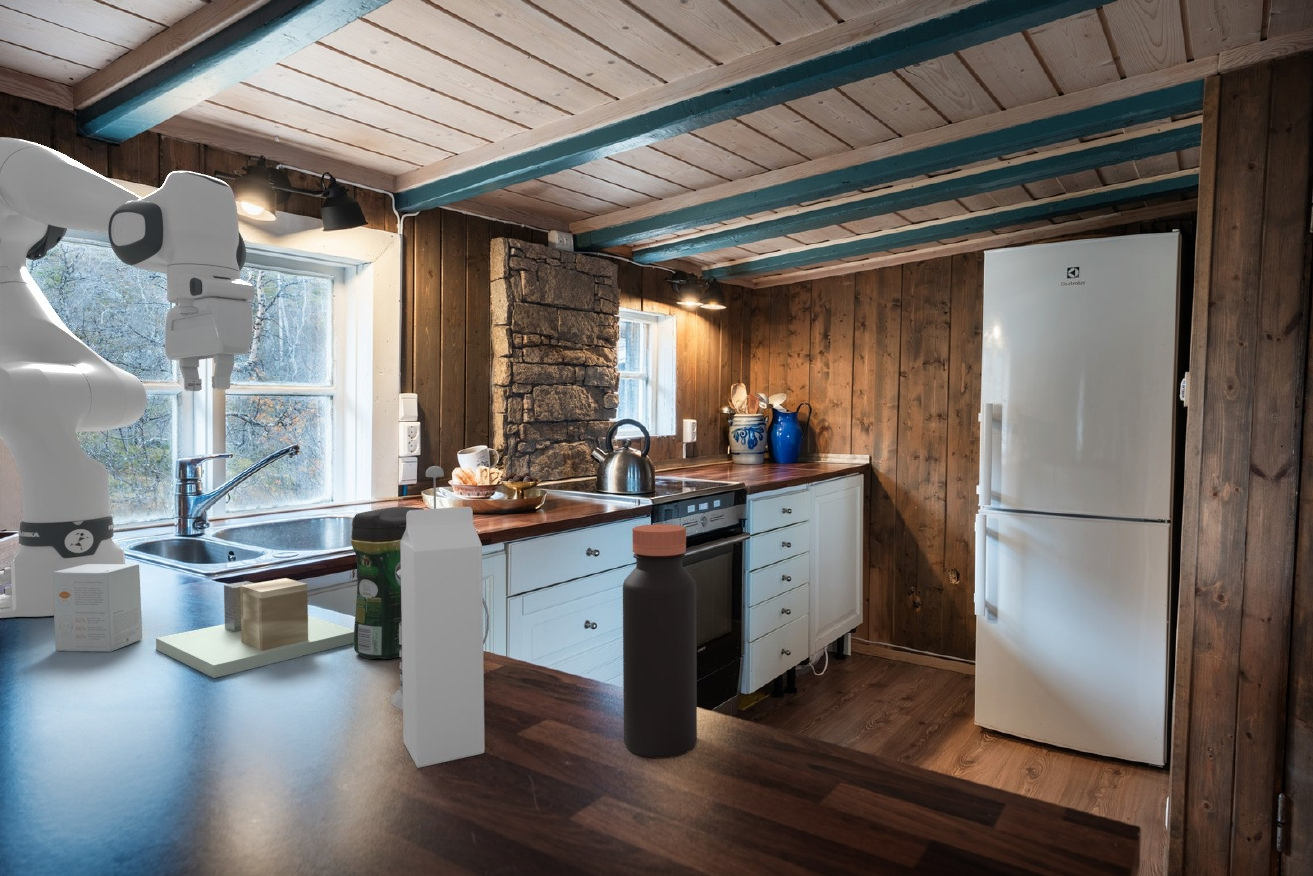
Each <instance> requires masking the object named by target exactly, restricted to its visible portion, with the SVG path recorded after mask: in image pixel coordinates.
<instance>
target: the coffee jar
mask: <svg viewBox="0 0 1313 876" xmlns="http://www.w3.org/2000/svg"><path fill="white" fill-rule="evenodd" d="M423 509H424V508H422V507H412V506H392V507H385V508H380V509H373V510H369V511H364V512H359V513H356V514H355V515H354V517H353V518H352V520H351V521H352V523H351V526H352V530H351V540H350V542H351V546H352V549H353V551H354V554H355V557H356V565H357V566H356V567H357V581H356V583H357V584H356V603H355V616H354V617H355V618H354V629H353V630H354V643H353V651H355V653H357V654H358V655H360V657H362V658H366V659H369V660H374V659H385V660H386V659H387V660H388V659H393V658H400V657H399V650H400V648H401V647H402V645H400V644H399V623H400V622H401V621H402V612H401V579H400V578H399V576H398V575H397V573H396V572H397V571H398V570H400V569H401V547H400V542H401V539H402V537H403V534H404V532H405V530H406V514H407V512H408V511H410V510H423Z"/></svg>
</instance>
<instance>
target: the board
mask: <svg viewBox="0 0 1313 876" xmlns="http://www.w3.org/2000/svg"><path fill="white" fill-rule="evenodd" d="M350 644H354V629H353V628H349V627H346V626H344V625H341V624H340V625H339V624H337V623H333V622H330V621H327V620H324V619H321V618H318V617H315V616H312V615H309V614H308V640H306V641H302V642H298V643H294V644H289V645H285V646H281V647H277V648H273V649H268V650H264V651H261V650H259V649H257V648H254V647H252V646H249V645H247V644H244V643H242V641H241V631H239V632H232V631H230V630H227V629H225V623H223V624H219V625H215V626H208V627H203V628H199V629H195V630H188V631H184V632H178V633H174V634H170V635H165V636H160V637H155V650H156V651H159V652H160V653H163V654H164V655H166V656H169V657H170V658H173V659H175V660H177V661H179V662H181V663H183V664H184V665H187V666H189V667H191V668H192V669H195V670H197V671H198V672H200V673H203V674H205V675H207V676H209V677H210V678H213V679H216V678H220V677H224V676H228V675H229V676H230V675H232V674H237V673H240V672H245V671H247V670H251V669H256V668H259V667H263V666H269V665H271V664H276V663H280V662H284V661H288V660H291V659H292V660H293V659H295V658H296V659H297V658H299V657H300V658H301V657H303V655H304V656H307V655H311V654H317V653H319V652H323V651H327V650H331V649H334V648H339V647H342V646H347V645H350Z"/></svg>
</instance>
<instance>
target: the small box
mask: <svg viewBox="0 0 1313 876" xmlns="http://www.w3.org/2000/svg"><path fill="white" fill-rule="evenodd" d="M140 575H141V574H140V564H137V563H133V564H132V563H131V564H130V563H127V564H126V563H125V564H85V565H81V566H76V567H72V568H68V569H63V570H59V571H55V572H53V573H52V576H53V601H54V615H53V618H54V619H53V620H54V637H55V638H54V639H55V640H54V642H55V650H56V651H57V652H98V653H100V652H101V653H102V652H108V653H109V652H114V651H116V650H119V649H121V648H123V647H126V646H129V645H131V644H134V643H136V642H138V641H141V640H143V623H142V622H143V619H142V618H143V617H142V597H141V578H140V577H141V576H140Z"/></svg>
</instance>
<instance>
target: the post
mask: <svg viewBox="0 0 1313 876" xmlns="http://www.w3.org/2000/svg"><path fill="white" fill-rule="evenodd" d="M254 583H255V582H251V581H248V580H246V581H241V582H234V583H228V584H223V598H224V599H223V605H224V608H223V611H224V624H225V629H227V630H230V631H232V632H239V631H241V595H240V586H242V585H248V584H254Z"/></svg>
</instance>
